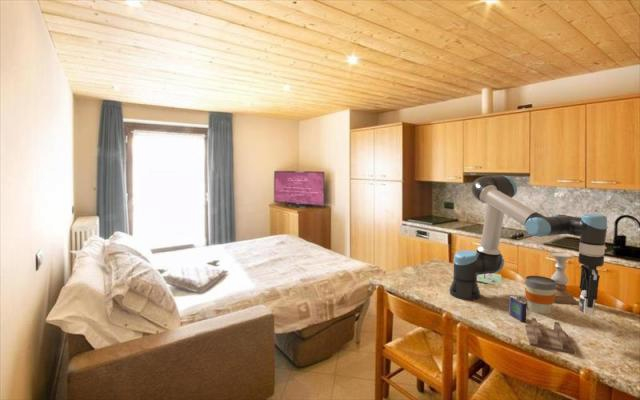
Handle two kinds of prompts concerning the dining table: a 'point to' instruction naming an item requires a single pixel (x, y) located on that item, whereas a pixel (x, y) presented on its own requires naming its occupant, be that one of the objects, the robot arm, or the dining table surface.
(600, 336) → the dining table surface
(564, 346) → the clip stand
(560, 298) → the candle holder
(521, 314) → the dark blue upright block
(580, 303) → the pill bottle
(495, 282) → the green board with pegs
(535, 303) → the reusable coffee cup
